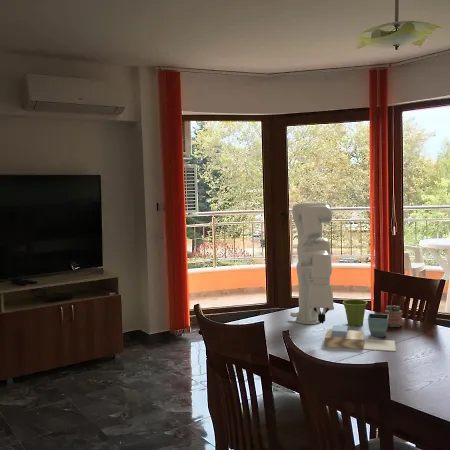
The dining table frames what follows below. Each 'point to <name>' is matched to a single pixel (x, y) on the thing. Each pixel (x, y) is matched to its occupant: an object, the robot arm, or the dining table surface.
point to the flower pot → (378, 324)
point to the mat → (379, 345)
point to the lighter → (394, 316)
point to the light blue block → (339, 331)
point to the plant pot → (355, 311)
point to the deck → (345, 340)
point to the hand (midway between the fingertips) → (321, 322)
